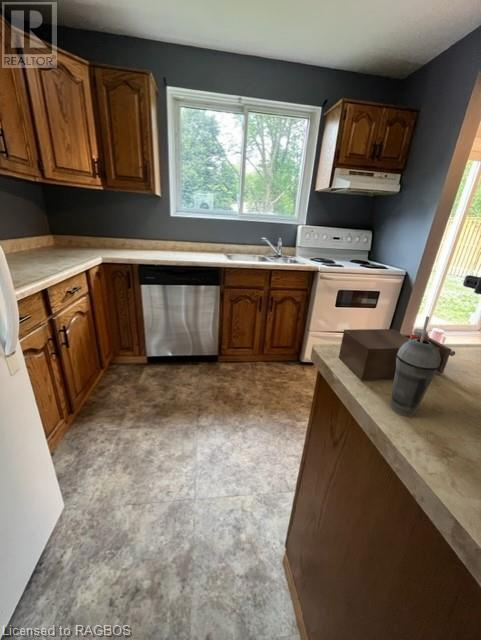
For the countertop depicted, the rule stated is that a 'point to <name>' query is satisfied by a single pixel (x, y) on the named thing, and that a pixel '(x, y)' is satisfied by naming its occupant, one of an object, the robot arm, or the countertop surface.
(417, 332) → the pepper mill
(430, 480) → the countertop surface
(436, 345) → the dark brown angular piece
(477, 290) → the robot arm
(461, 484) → the countertop surface
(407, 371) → the beverage cup
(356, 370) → the dark brown wooden box
